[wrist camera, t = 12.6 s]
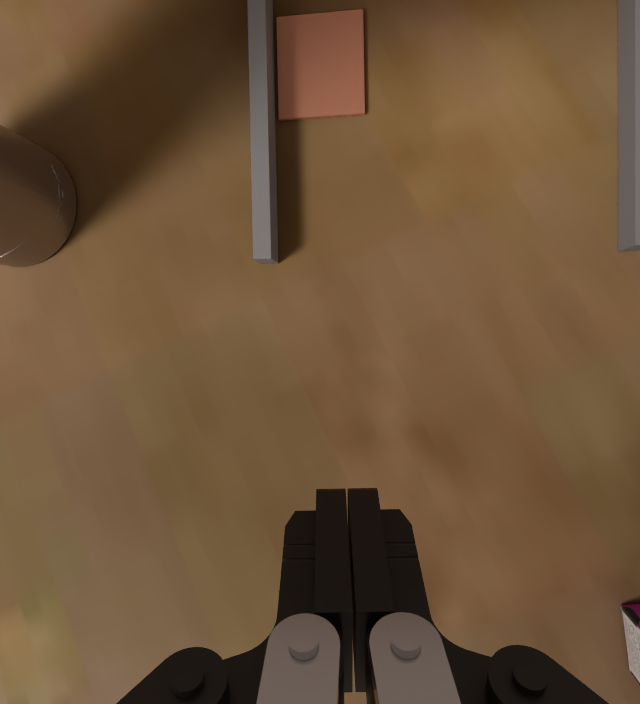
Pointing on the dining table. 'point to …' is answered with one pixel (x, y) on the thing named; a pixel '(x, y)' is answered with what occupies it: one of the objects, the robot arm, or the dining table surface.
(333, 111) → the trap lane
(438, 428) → the dining table surface
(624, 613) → the candy bar box
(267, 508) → the dining table surface
